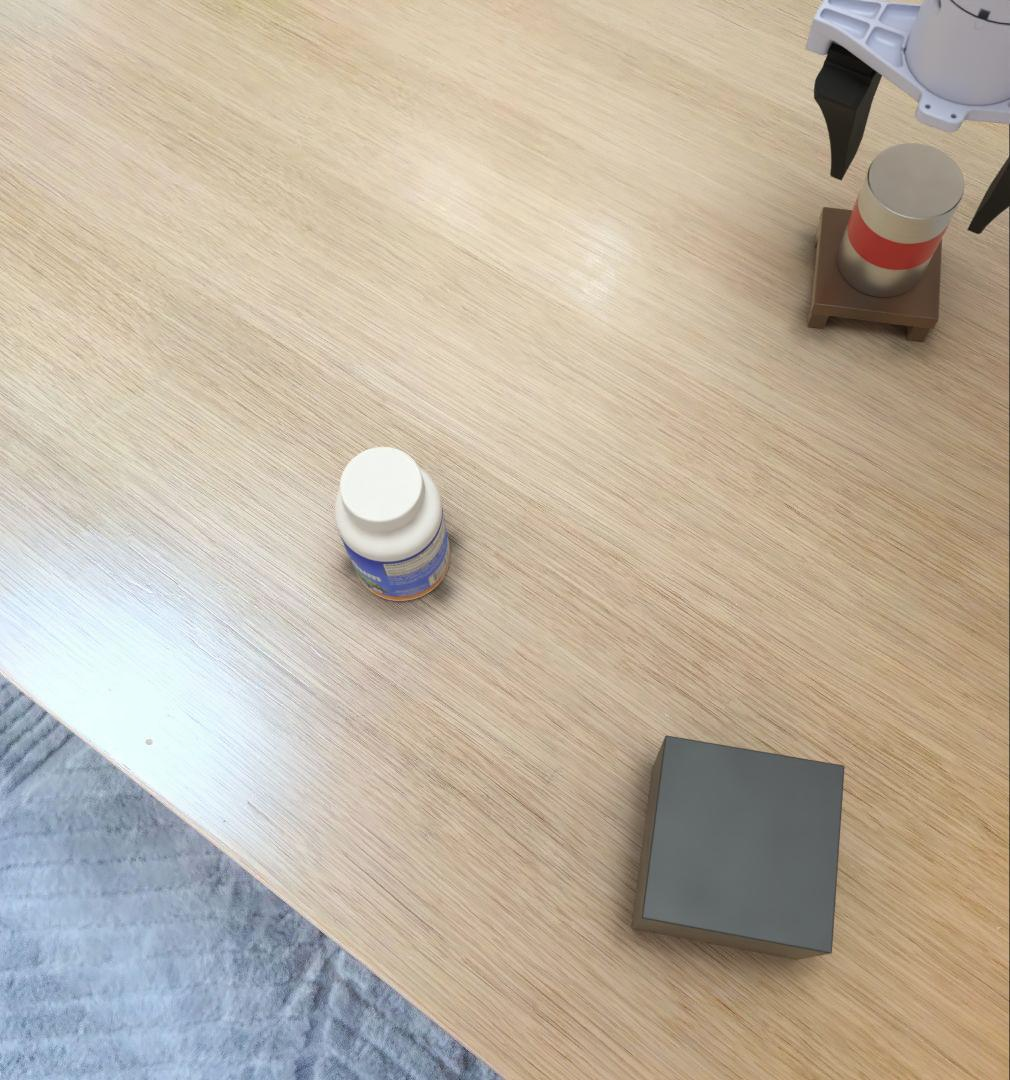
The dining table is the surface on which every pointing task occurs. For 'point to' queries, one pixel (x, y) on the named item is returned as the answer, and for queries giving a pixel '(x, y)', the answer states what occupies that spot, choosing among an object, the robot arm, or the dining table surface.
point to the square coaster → (741, 849)
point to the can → (899, 219)
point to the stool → (848, 302)
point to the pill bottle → (392, 524)
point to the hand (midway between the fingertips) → (910, 191)
